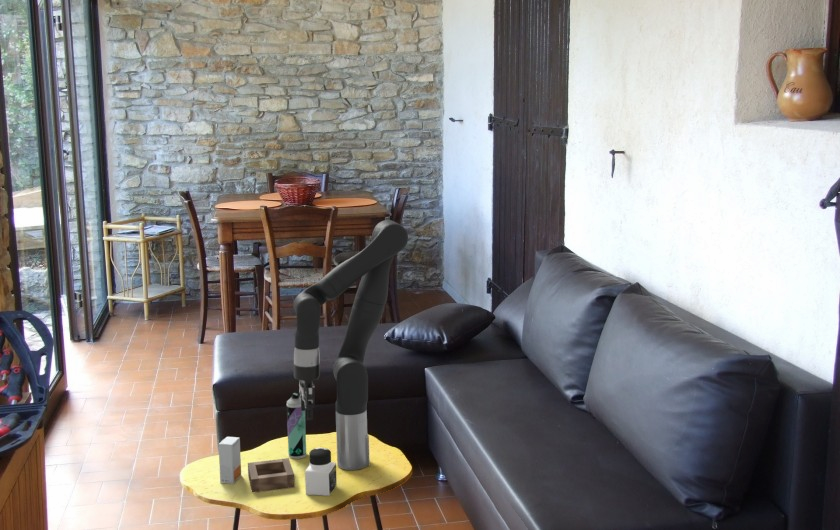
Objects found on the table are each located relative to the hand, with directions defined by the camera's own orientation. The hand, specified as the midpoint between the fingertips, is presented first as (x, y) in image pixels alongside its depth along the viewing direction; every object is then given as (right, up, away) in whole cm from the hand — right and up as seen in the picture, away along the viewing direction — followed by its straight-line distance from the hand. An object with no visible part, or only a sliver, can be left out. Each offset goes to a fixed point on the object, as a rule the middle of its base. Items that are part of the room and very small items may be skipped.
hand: (306, 415), depth 262 cm
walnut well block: (-10, -18, -5) cm, 21 cm away
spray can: (-5, -15, +14) cm, 21 cm away
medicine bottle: (+5, -20, -11) cm, 23 cm away
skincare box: (-22, -19, -3) cm, 29 cm away
